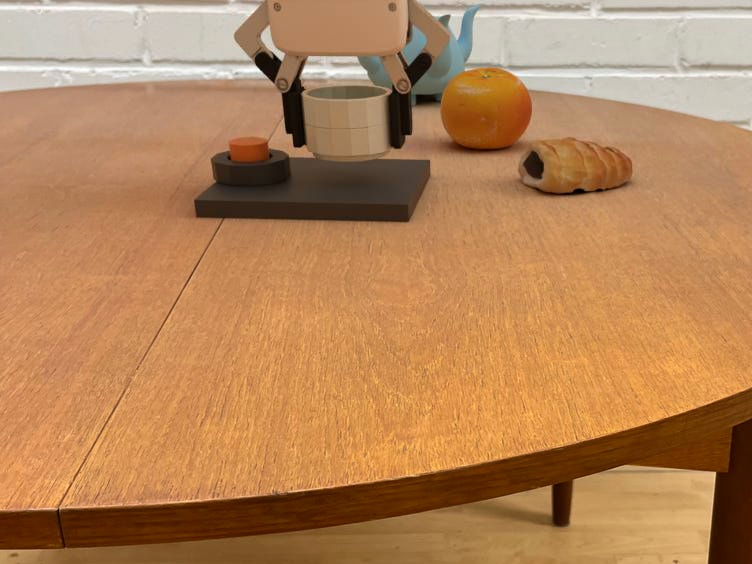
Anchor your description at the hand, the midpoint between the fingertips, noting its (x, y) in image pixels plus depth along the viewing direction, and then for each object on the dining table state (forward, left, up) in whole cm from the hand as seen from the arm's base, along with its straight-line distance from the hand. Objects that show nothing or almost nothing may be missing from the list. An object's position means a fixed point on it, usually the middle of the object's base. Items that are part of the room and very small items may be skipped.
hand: (350, 142), depth 75 cm
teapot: (-1, +44, -4) cm, 44 cm away
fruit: (+9, +19, -4) cm, 22 cm away
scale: (-3, 0, -4) cm, 5 cm away
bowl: (0, 0, -1) cm, 1 cm away
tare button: (-8, 0, -2) cm, 8 cm away
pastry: (+17, +5, -4) cm, 19 cm away
